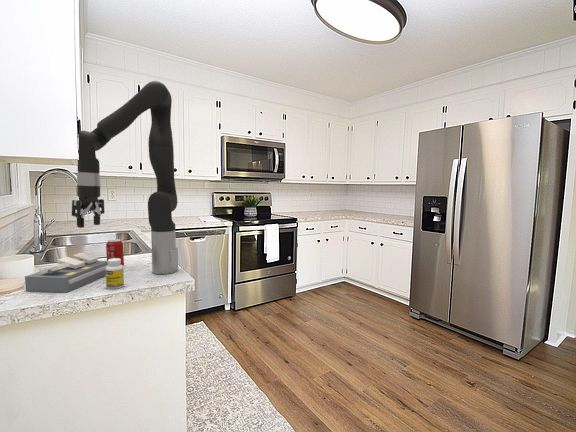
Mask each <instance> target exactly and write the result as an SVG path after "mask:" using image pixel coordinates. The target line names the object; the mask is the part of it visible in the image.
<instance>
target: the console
mask: <svg viewBox="0 0 576 432" xmlns="http://www.w3.org/2000/svg"><path fill="white" fill-rule="evenodd" d="M107 266H109V265H108V261H107V260H98V261H96V262H93V263H90V264H88V263H85V265H84V266H82V267H79V268H76V269H74V268H70V267H68V268H63V270H60V271H57V272H54V273H51V274H49V273H48V272H47V273H43V274H40V271H37V272H34V273H32V274H28V275H26V276H24V282H25V284H24V285H25V292H36V293H37V292H41V293H65V294H67V293H69V292H71V291H73V290H77V289H78V288H81V287H82V286H84V285H87V284H89V283H91V282H94V281H96V280H98V279H101V278H103V277H106V267H107Z"/></svg>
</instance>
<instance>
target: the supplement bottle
mask: <svg viewBox="0 0 576 432" xmlns="http://www.w3.org/2000/svg"><path fill="white" fill-rule="evenodd" d="M120 263H121V259H119V258H114V259H109V260H108V265H109V266H107V267H106V275H105V288H106V289H107V290H116V289H121V288H123V287H124V285H125V280H124V279H125V278H124V277H125V276H124V272H125V271H124V265H121V264H120Z"/></svg>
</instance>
